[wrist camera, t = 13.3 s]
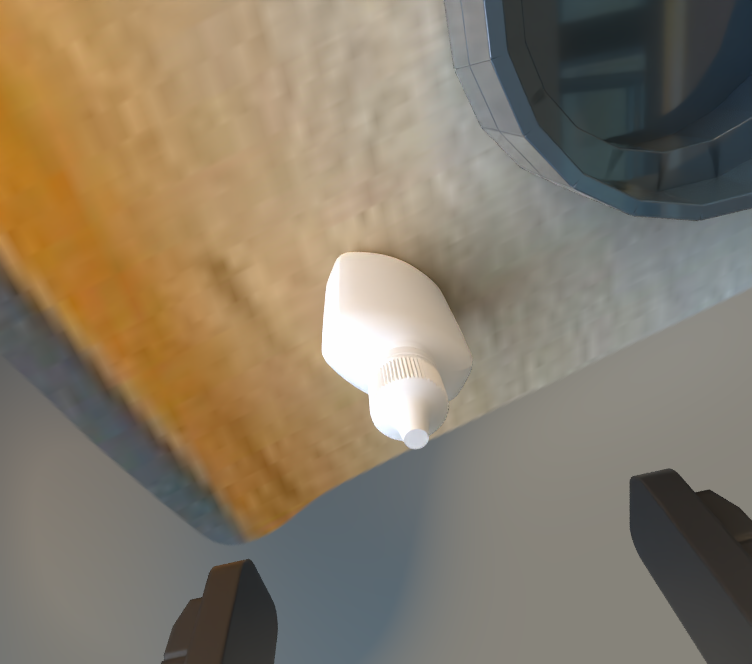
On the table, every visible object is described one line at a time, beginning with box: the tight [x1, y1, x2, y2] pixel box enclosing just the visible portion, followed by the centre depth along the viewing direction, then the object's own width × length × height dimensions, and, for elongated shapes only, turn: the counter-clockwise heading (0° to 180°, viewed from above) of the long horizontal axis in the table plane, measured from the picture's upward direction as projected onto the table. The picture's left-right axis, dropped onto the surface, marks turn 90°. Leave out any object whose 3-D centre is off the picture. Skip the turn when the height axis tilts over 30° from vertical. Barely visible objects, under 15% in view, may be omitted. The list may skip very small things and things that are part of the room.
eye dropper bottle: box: [322, 252, 473, 449], centre depth 19 cm, size 4×6×12 cm
